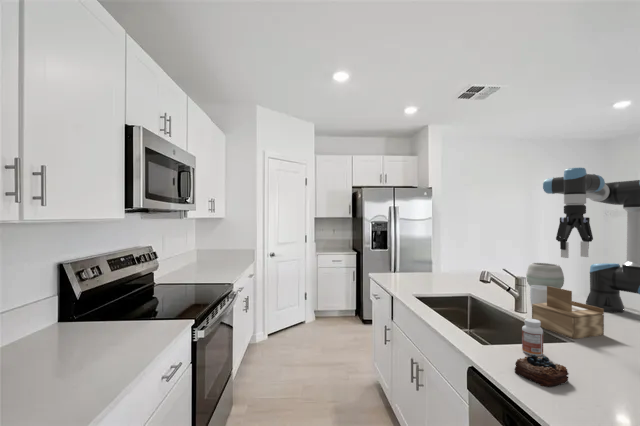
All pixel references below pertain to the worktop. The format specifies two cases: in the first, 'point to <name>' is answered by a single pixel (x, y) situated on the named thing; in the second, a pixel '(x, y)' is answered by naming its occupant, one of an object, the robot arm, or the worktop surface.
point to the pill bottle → (532, 337)
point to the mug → (538, 294)
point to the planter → (545, 275)
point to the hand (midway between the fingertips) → (574, 257)
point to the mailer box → (569, 323)
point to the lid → (567, 304)
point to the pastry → (541, 371)
